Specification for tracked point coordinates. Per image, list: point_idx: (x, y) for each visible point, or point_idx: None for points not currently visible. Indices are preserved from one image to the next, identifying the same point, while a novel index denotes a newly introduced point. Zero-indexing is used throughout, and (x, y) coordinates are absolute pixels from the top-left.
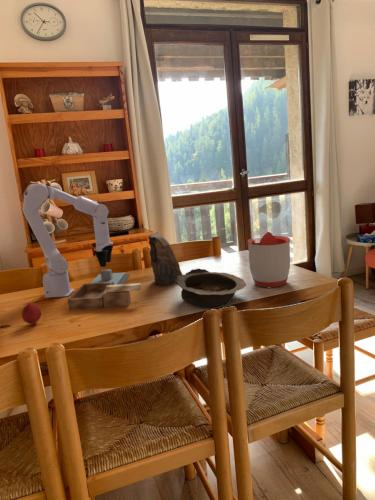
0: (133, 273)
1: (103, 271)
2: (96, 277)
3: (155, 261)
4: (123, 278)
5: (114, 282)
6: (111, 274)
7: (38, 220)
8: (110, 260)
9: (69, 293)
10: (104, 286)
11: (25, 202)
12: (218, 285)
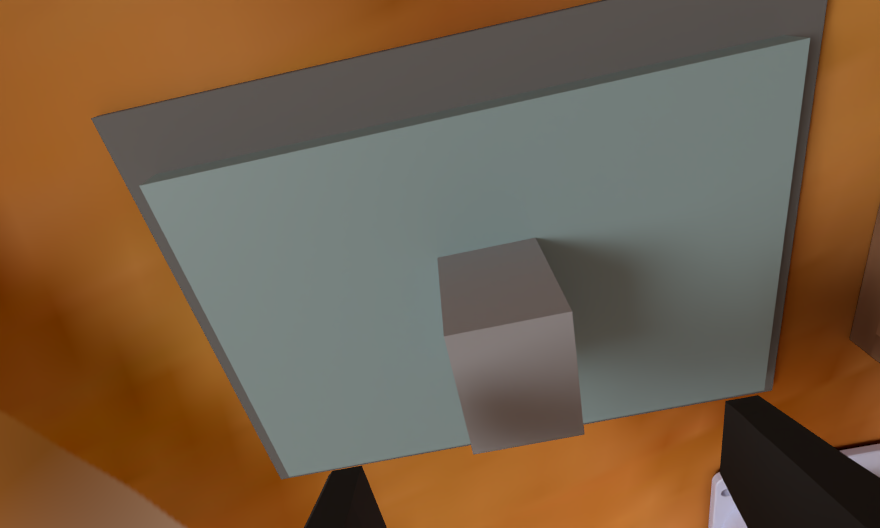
0: (23, 84)
1: (578, 396)
2: (421, 447)
3: None
4: (350, 120)
5: (662, 129)
6: (475, 282)
7: None
8: (343, 488)
9: (852, 455)
10: None
11: None
12: None
